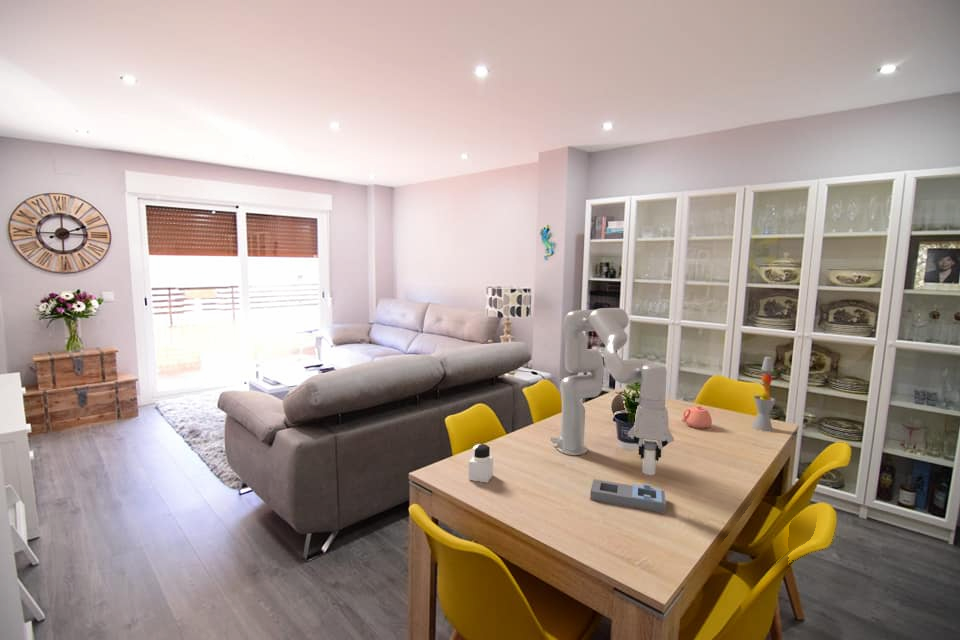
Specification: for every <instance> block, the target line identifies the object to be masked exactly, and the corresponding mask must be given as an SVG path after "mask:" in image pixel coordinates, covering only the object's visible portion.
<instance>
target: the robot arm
mask: <svg viewBox="0 0 960 640" xmlns="http://www.w3.org/2000/svg"><path fill="white" fill-rule="evenodd" d="M628 325H629V315H628V313H627V312H626V311H625V310H624V309H622V308H621V307H604V308H603V307H600V308H596V309H578V310H572V311H569V312H568V313H566V314H565V316H564V318H563V331H564V336H565V348H564V349H565V351H564V367H565V370H566V371H567V372H568V373H572V374H576V375H569V376H565V377H564V378H562V379H561V381H560V383H559V389H560V395H561V426H560V427H561V430H560V436H558V437H555V436H551V437H550V442H552V444H557V445H556V450H557V451H558V450H559V451H558V452H560V453H562V454H564V453H565V455H568V456H583V455H584V454H585V455H586V454H587V452H588V446H587V445H585V425H586V424H585V423H586V422H585V421H586V408H585V405H584V404H583V403H582V401H581V399H588V398H596V397H598V396H599V395H600V394H601V392H602V390H603V379H604V378H603V377H604V366H605V368H606V369H607V371H608V372H609V374H610V375H611V376H612V378H613V380H614V381H616V382H617V383H619V384H633V383H634V384H635V383H640V391H639V392H640V393H639V396H638V397H639V398H635V402H638V403H639V405H638V406H637V409H636V414H635V422H633V423H634V425H633V426H632V427H631V428H630V429H629V431H628V432H627V436H628V437H629V438H630V439H632V440H633V441H634V442H635V443H636V444H637V446H638V456H640V459H641V460H643V441H644V440H652V441H656V442H657V450H656V462H659V458H660V459H661V458H662V449H663V448H665V447H666V446H667V445H668V444H671V443H672V442H674V441H675V438H674V436H673V434H672V433H671V432H670V430H669V413H668V408H667V407H666V391H667V376H668V375H667V373H668V372H667V371H668V370H667V367H666V366H664V365H663V364H658V363H654V362H652V360H649V359H645V358H641V359H640V358H639V359H627V360H623V359H622V358H621V357H620V356H619V354H618V353H617V351H619V350H620V349H622V348H623V347H624V346H625V345H626V343H627V341H628V339H629V337H628V334H627V333H626V330H625V329H627V327H628ZM584 332H595V333H596V334H597V336H598V338H599V339H600V340H601V342H602V343H603V345H604V349H603V356H602V354H601V352H600V351H599V350H597V349H594V348H587V346H588V345H587V344H588V341H587V337H586V335H585V333H584ZM579 373H580V374H579ZM583 373H586V374H583ZM578 374H579V375H578Z"/></svg>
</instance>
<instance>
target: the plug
mask: <svg viewBox="0 0 960 640" xmlns="http://www.w3.org/2000/svg"><path fill="white" fill-rule="evenodd" d="M657 445H658V441H656V440H649V439H644V440H643V458H642V467H641V468H642V469H641V472H642V473H643V474H645V475H648V476H654V475H655V474H656V470H657V469H656V468H657V466H656V465H657V460H656V450H657Z"/></svg>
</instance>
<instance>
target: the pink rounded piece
mask: <svg viewBox="0 0 960 640" xmlns="http://www.w3.org/2000/svg"><path fill="white" fill-rule="evenodd" d="M682 415H683V417H682V418H681V422H683V423H685V424H686V425H687V426H689V427H692V428H693V427H696V428H695V429H707V428H709V427H710V426H712V424H713V421H712V416H711V415H710V413H709V410H708V409H706V408H705V407H702V405H701V404H700V405H699V404H697V405H695V406H691V407H689V408H685V409H684V410H683V411H682Z"/></svg>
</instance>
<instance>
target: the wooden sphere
mask: <svg viewBox="0 0 960 640" xmlns="http://www.w3.org/2000/svg"><path fill="white" fill-rule="evenodd" d="M610 406H611V412H612V415H614V413H615V412H616V411H620V410H625V408H624V403H623V399H622V396H621V394H620V393H618V394H617V395H615V396H614V397H613V399H612V401H611V405H610Z"/></svg>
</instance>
